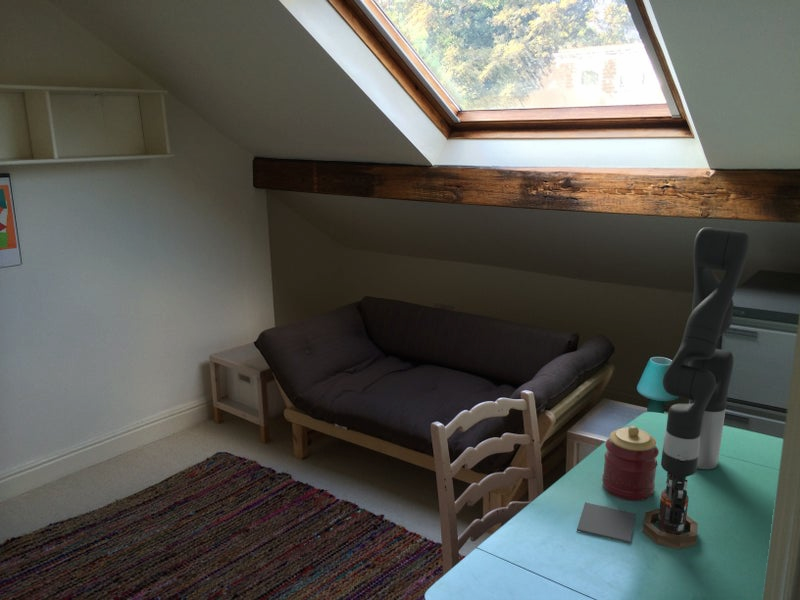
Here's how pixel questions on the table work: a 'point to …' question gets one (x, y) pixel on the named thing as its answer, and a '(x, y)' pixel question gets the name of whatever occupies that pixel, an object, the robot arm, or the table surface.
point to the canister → (630, 464)
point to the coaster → (606, 522)
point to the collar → (668, 538)
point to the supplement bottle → (665, 513)
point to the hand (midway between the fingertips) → (672, 514)
